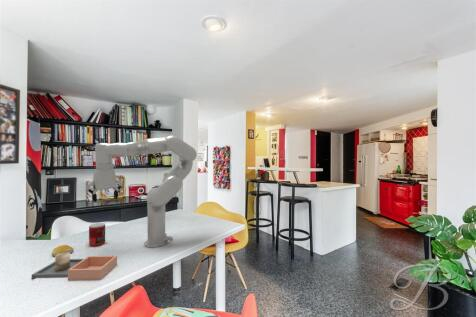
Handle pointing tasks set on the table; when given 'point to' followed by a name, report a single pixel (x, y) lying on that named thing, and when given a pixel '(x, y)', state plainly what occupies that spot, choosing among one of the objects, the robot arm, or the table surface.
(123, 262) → the table surface
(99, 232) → the canned food
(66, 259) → the beech cylinder
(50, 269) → the charcoal tray
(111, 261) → the salmon square tray
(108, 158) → the robot arm
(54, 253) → the bread roll
